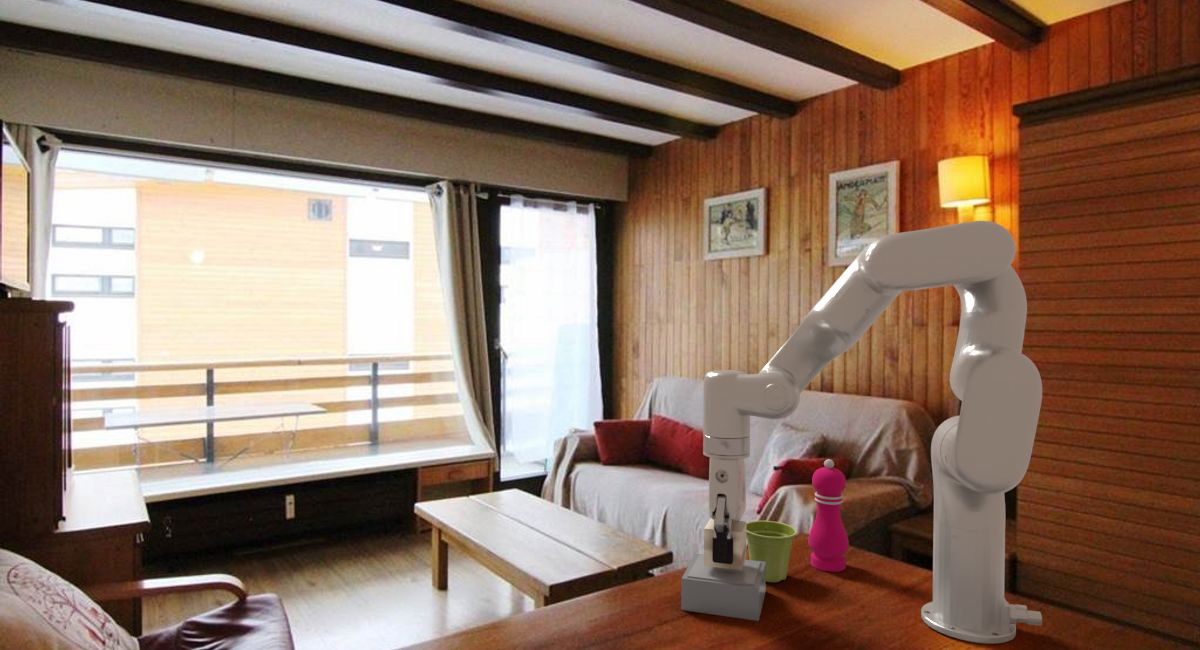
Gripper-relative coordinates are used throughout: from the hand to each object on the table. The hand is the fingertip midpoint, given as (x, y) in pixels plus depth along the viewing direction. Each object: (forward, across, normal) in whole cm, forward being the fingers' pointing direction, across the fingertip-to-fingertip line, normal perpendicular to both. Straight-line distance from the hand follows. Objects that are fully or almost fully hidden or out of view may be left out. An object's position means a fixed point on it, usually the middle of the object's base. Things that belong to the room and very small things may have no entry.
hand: (725, 554), depth 112 cm
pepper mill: (+8, +22, -16) cm, 28 cm away
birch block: (+1, 0, 0) cm, 1 cm away
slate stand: (+7, 0, 0) cm, 7 cm away
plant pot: (+8, +13, -6) cm, 16 cm away
